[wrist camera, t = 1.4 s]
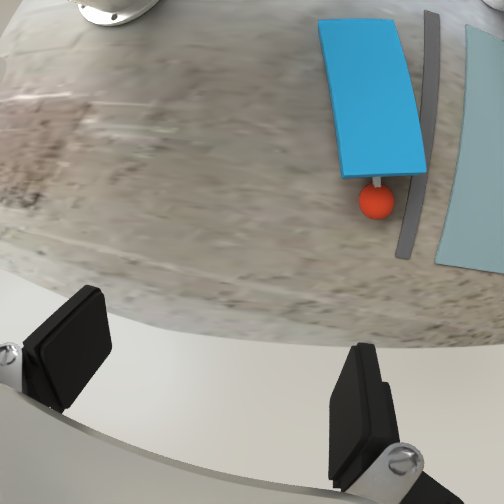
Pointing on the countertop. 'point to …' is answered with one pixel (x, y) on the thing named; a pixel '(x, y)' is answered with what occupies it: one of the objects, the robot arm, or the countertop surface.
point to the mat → (478, 163)
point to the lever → (371, 106)
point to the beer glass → (495, 4)
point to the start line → (423, 131)
